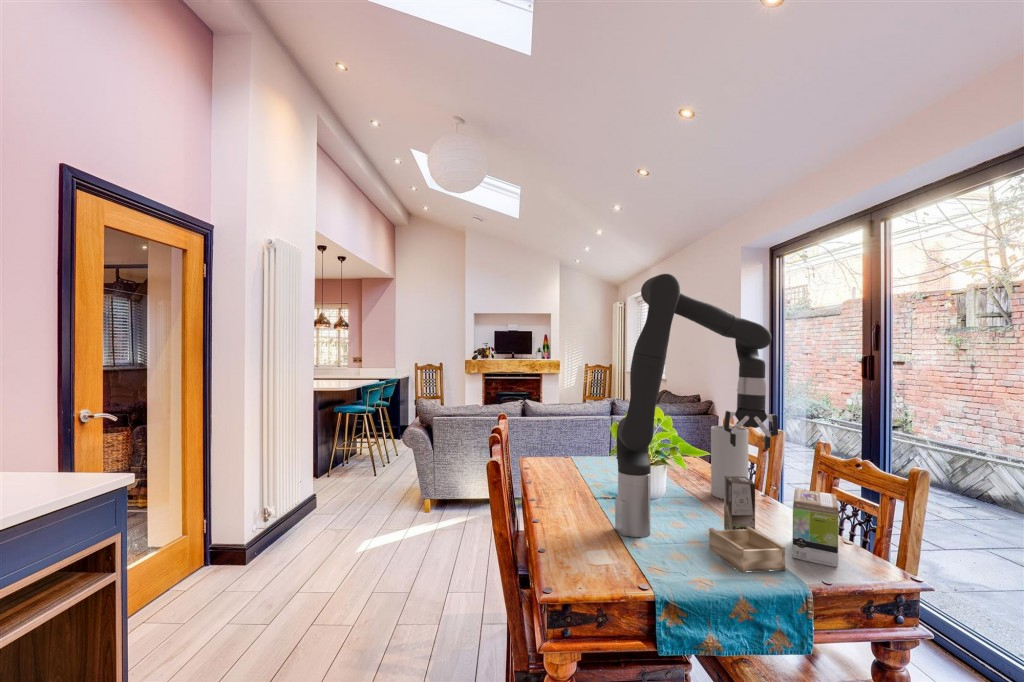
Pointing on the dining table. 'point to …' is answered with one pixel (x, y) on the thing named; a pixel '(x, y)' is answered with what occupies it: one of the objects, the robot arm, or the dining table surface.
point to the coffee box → (739, 503)
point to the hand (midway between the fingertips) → (749, 447)
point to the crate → (747, 549)
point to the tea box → (815, 527)
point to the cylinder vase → (727, 457)
